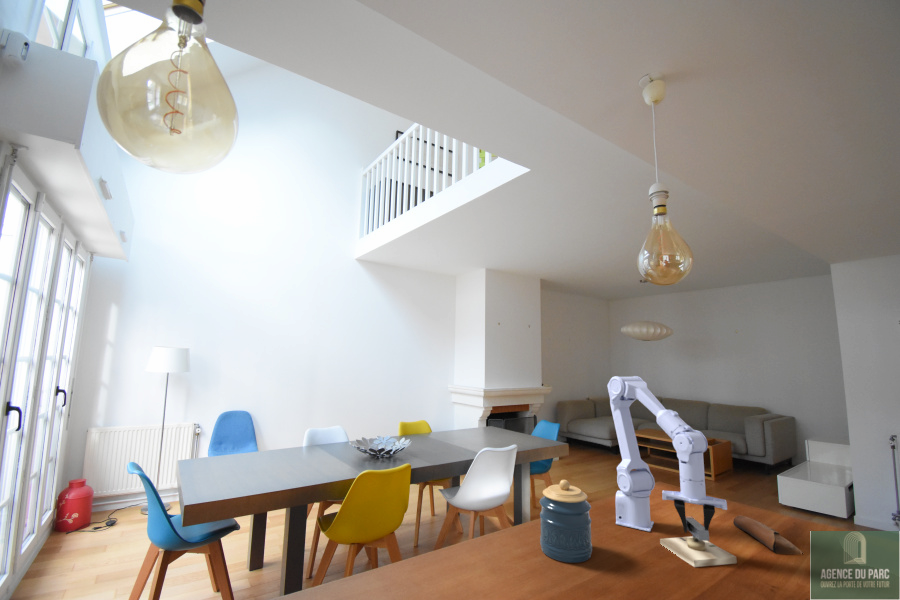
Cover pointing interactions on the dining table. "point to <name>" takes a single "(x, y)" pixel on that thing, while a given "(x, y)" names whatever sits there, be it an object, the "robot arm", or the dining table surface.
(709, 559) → the base plate
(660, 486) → the dining table surface
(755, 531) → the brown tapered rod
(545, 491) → the canister
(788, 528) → the dining table surface
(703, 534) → the dark rectangular block
